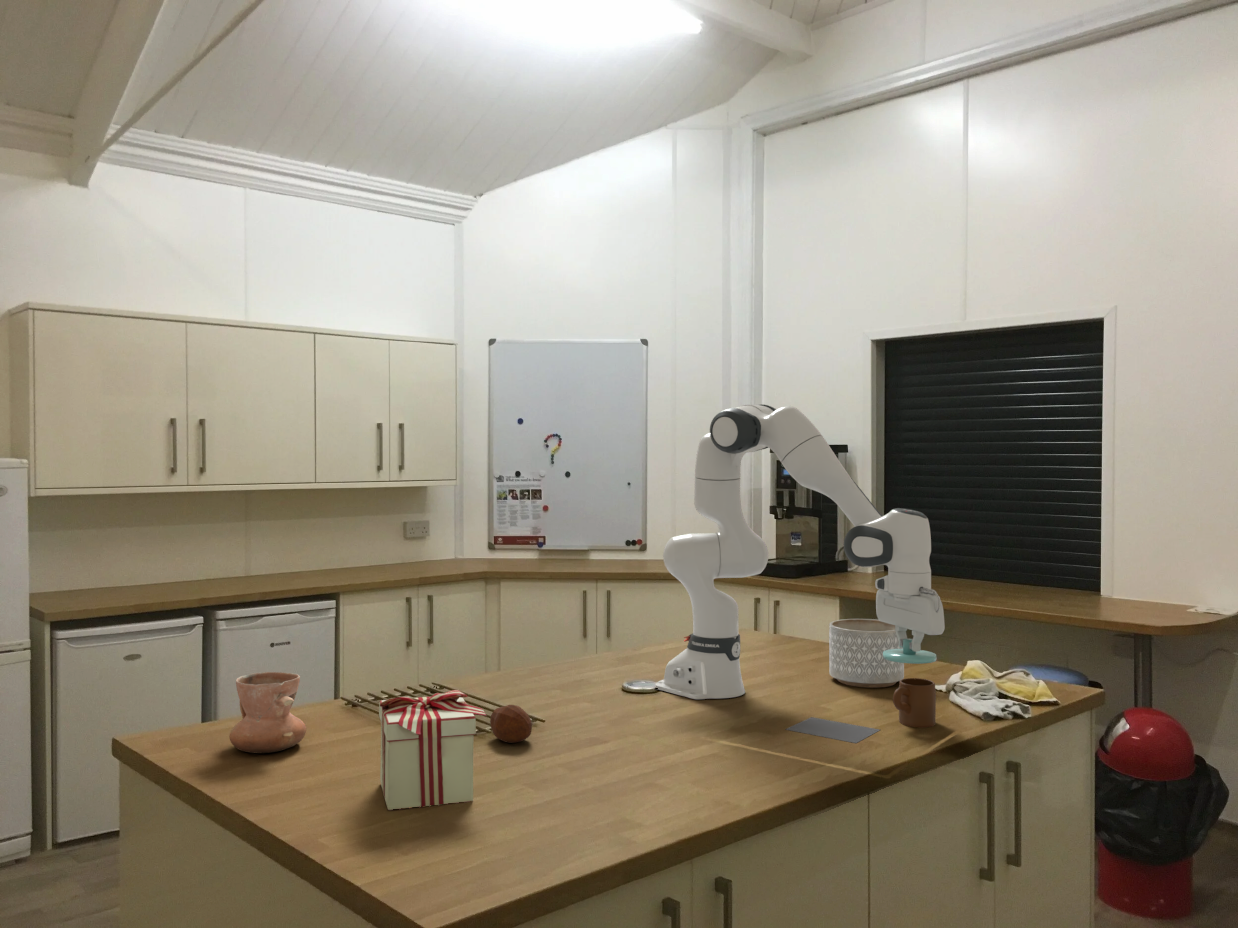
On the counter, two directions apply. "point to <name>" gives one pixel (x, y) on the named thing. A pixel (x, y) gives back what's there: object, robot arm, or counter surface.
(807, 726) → the mat
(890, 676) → the planter
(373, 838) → the counter surface
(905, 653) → the lid
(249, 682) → the ceramic jug
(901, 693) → the mug
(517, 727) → the potato
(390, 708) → the gift box
